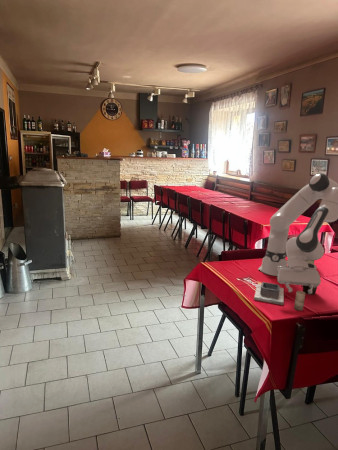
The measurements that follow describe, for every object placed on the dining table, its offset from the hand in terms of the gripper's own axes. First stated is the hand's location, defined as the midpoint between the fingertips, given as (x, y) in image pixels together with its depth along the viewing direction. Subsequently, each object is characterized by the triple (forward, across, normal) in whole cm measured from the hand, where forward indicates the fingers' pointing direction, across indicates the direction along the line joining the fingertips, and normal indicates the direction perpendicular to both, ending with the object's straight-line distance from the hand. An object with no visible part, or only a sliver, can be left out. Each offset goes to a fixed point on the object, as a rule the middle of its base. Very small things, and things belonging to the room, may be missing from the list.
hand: (300, 292), depth 162 cm
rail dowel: (+7, -1, +4) cm, 8 cm away
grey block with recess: (-3, -12, +14) cm, 18 cm away
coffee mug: (-9, +10, +20) cm, 24 cm away
